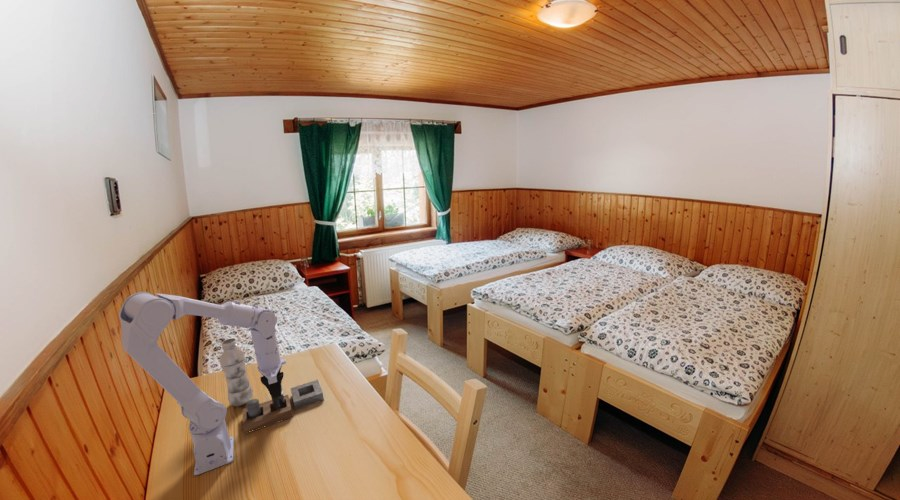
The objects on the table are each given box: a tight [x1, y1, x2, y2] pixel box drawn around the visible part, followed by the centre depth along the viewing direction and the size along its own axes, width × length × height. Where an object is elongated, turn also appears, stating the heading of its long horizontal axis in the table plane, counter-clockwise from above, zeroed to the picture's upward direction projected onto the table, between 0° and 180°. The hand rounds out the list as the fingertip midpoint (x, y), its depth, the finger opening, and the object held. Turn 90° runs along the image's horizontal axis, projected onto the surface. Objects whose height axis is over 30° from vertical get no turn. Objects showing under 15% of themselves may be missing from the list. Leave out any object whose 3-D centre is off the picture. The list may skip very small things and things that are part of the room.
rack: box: [242, 394, 294, 434], centre depth 105 cm, size 8×12×6 cm, turn 119°
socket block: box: [290, 379, 324, 411], centre depth 113 cm, size 8×8×2 cm
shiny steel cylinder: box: [270, 385, 285, 408], centre depth 106 cm, size 3×3×9 cm
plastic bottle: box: [219, 338, 254, 407], centre depth 111 cm, size 6×7×20 cm
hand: (275, 393), depth 106 cm, fingers closed on shiny steel cylinder, 3 cm apart
